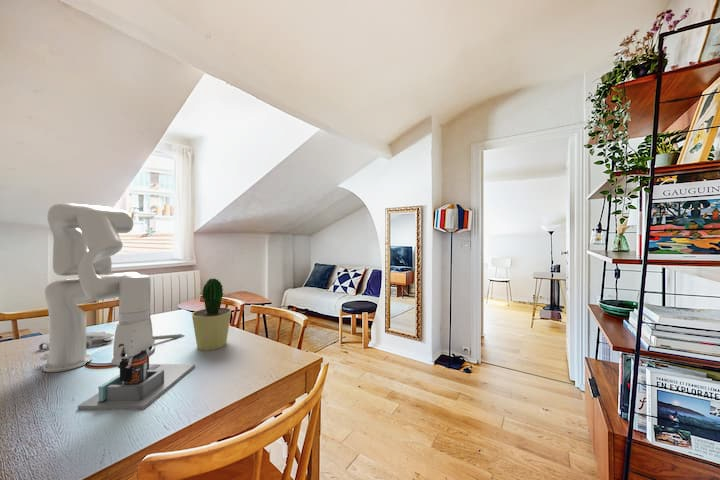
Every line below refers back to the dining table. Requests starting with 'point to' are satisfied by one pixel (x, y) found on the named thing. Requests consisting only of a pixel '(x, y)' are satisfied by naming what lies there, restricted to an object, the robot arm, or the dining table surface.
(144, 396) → the housing
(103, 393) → the bar
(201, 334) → the potted cactus
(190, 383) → the dining table surface
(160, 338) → the caliper
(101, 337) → the car model
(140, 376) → the supplement bottle
